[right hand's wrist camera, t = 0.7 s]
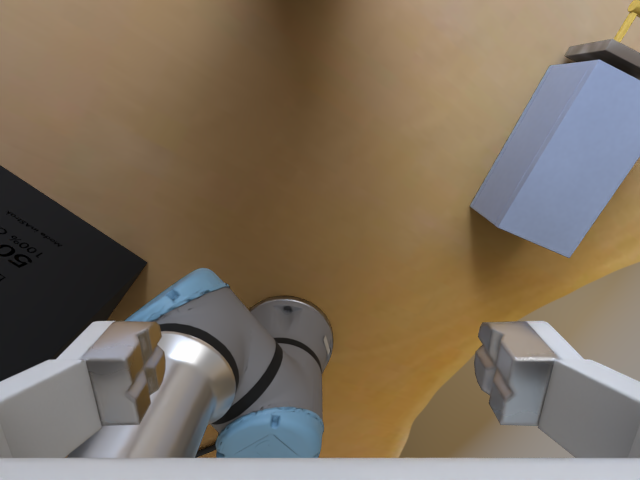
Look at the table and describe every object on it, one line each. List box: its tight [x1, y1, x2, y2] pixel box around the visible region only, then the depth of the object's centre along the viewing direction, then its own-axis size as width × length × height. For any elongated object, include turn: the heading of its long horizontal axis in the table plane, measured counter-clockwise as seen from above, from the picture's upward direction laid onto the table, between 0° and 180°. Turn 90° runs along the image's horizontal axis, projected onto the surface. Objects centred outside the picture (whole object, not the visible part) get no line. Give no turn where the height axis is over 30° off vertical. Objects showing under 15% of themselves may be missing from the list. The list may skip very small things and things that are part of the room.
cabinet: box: [470, 60, 640, 258], centre depth 50 cm, size 20×10×10 cm, turn 157°
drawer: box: [565, 0, 640, 80], centre depth 48 cm, size 24×9×8 cm, turn 157°
